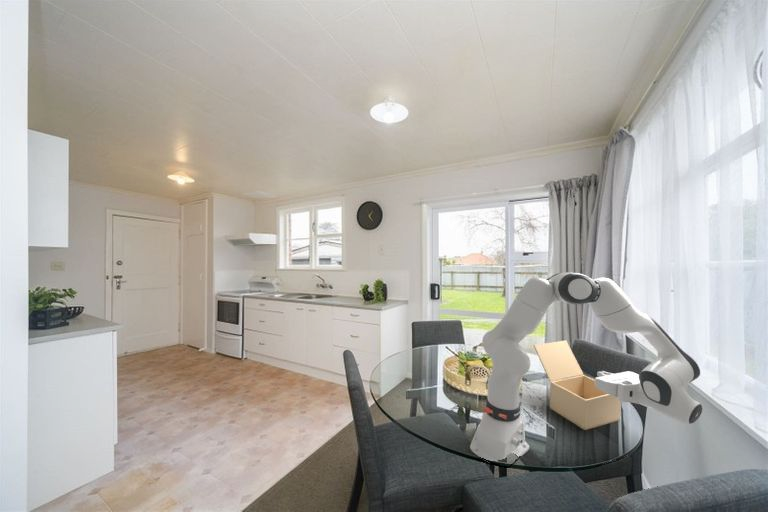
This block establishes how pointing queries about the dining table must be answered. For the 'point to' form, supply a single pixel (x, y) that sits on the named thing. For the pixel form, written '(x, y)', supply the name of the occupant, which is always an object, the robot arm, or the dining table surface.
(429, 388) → the dining table surface
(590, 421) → the carton
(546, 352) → the carton flap
